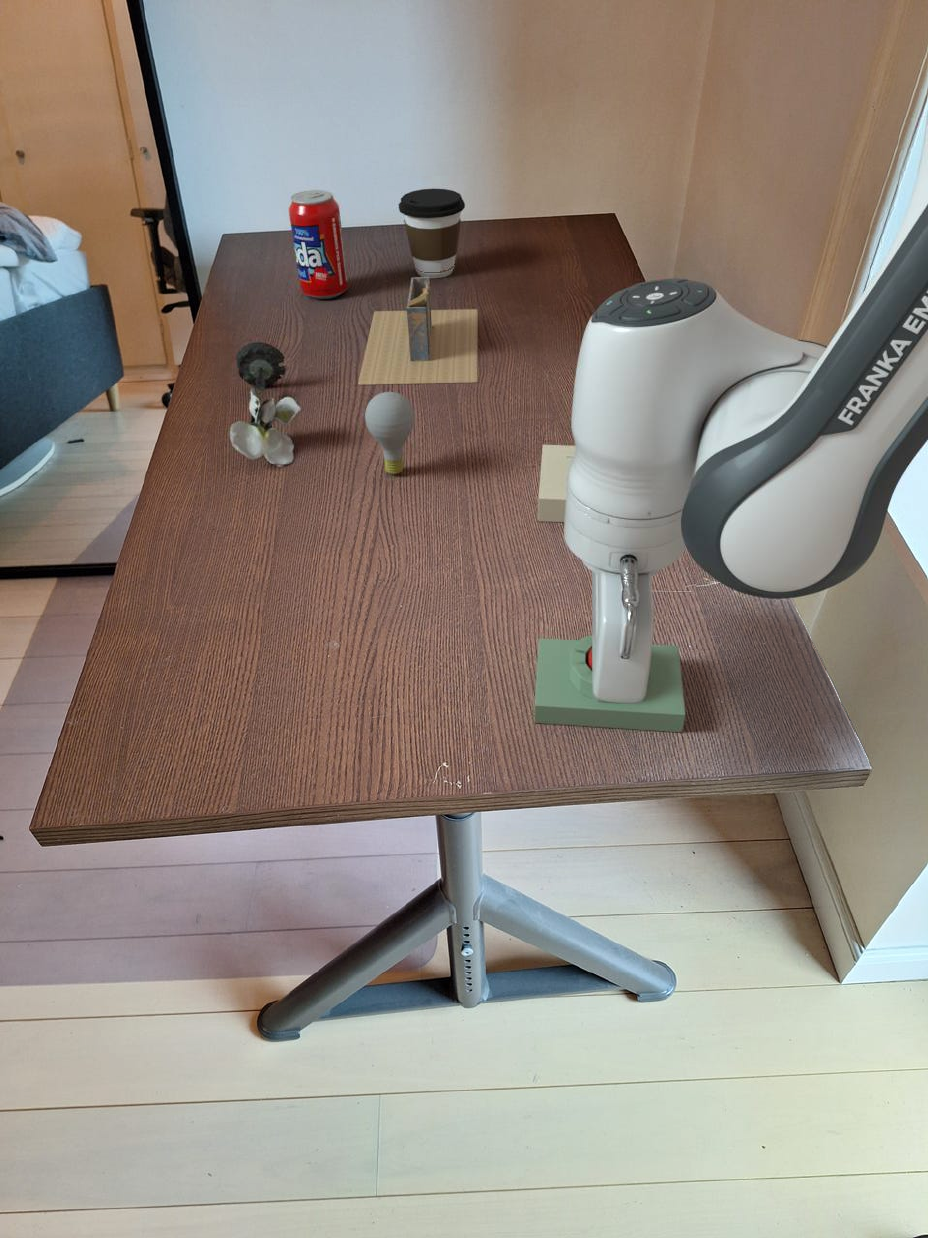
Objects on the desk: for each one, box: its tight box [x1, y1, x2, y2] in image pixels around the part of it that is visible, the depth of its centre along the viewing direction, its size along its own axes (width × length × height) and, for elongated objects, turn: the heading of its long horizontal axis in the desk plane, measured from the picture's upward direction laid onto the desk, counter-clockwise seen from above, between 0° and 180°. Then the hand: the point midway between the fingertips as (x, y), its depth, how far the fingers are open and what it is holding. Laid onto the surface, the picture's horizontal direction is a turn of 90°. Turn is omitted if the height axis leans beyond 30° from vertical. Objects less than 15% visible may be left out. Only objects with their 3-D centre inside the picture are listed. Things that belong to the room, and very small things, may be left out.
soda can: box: [288, 189, 349, 300], centre depth 136 cm, size 8×8×15 cm
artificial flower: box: [229, 341, 302, 468], centre depth 106 cm, size 9×22×10 cm, turn 6°
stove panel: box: [537, 444, 575, 523], centre depth 94 cm, size 14×13×3 cm
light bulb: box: [364, 391, 415, 475], centre depth 96 cm, size 6×6×10 cm
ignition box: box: [533, 634, 686, 733], centre depth 71 cm, size 12×8×4 cm, turn 84°
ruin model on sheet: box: [357, 276, 479, 386], centre depth 122 cm, size 25×16×10 cm, turn 179°
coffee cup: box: [398, 188, 466, 279], centre depth 143 cm, size 11×11×12 cm
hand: (609, 656), depth 70 cm, fingers closed, pressing on start button
